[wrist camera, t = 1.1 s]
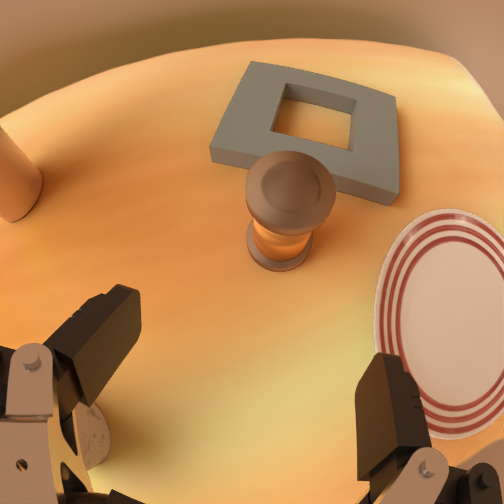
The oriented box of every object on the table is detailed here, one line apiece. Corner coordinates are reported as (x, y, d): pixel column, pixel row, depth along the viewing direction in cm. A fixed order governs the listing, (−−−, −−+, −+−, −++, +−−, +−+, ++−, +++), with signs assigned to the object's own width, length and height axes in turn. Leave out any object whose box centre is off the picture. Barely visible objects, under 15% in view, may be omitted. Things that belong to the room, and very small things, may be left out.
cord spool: (239, 262, 31) (234, 214, 21) (256, 207, 33) (258, 142, 23) (302, 278, 30) (328, 238, 20) (314, 221, 32) (340, 162, 22)
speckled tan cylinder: (122, 466, 23) (63, 508, 12) (57, 464, 22) (-7, 490, 11) (97, 385, 26) (23, 392, 15) (36, 391, 25) (-38, 392, 14)
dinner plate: (474, 196, 35) (487, 185, 31) (537, 358, 26) (551, 356, 23) (321, 261, 31) (328, 251, 28) (404, 476, 23) (417, 485, 20)
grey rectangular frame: (212, 161, 35) (209, 146, 32) (250, 75, 41) (250, 61, 38) (389, 206, 33) (399, 194, 30) (388, 109, 39) (395, 96, 36)
